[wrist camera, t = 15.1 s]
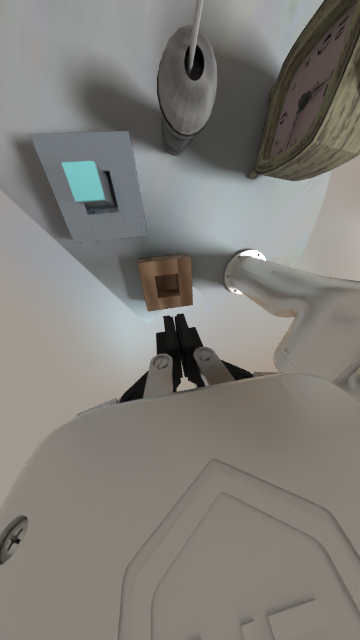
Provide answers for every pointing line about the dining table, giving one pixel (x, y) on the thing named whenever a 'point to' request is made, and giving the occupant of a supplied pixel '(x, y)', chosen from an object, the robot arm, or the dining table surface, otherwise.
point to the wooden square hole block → (166, 281)
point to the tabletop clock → (315, 99)
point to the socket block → (118, 166)
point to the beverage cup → (186, 85)
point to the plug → (90, 184)
